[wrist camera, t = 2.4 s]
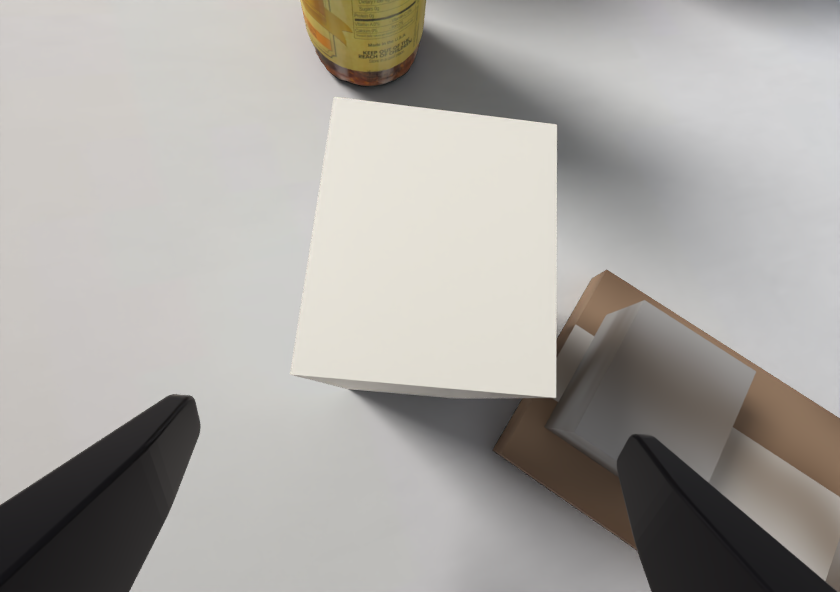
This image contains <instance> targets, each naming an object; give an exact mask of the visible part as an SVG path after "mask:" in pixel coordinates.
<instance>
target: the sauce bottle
mask: <svg viewBox="0 0 840 592" xmlns="http://www.w3.org/2000/svg"><path fill="white" fill-rule="evenodd" d="M300 1H301V6H302V10H303V15H304V19H305V23H306V29H307V32H308V34H309V37H310V39H311V41H312V43H313V45H314V47H315V49H316V53H317V55H318V56H319V58H320V60H321V62H322V63H323V64H324V66H325V67H326V69H327V70H328V71H329V72H330V73H331V74H332V75H334V76H336V77H337V78H339V79H341V80H345V81H349V82H350V83H354V84H357V85H360V86H376V85H381V84H386V83H388V82H390V81H394V80H396V79H397V78H399V77H400V76H402V75H404V74H405V73H406V72H408V70H409V68H410V66H411V65H412V63H413V62H414V60H415V57H416V54H417V51H418V47H419V42H420V39H421V37H422V33H423V26H424V16H425V6H426V0H300Z"/></svg>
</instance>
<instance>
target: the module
mask: <svg viewBox="0 0 840 592" xmlns="http://www.w3.org/2000/svg"><path fill="white" fill-rule="evenodd" d="M556 293H557V124H549V123H541V122H533V121H525V120H517V119H509V118H501V117H493V116H485V115H477V114H469V113H461V112H453V111H445V110H437V109H429V108H421V107H413V106H405V105H397V104H389V103H380V102H372V101H364V100H356V99H348V98H340V97H334V99H333V105H332V111H331V118H330V124H329V130H328V137H327V143H326V149H325V156H324V162H323V168H322V175H321V181H320V187H319V194H318V200H317V206H316V213H315V219H314V225H313V232H312V238H311V244H310V251H309V257H308V263H307V270H306V276H305V282H304V289H303V295H302V301H301V308H300V314H299V320H298V327H297V333H296V339H295V346H294V352H293V358H292V365H291V371H290V375H294V376H298V377H302V378H306V379H310V380H314V381H318V382H322V383H326V384H330V385H334V386H338V387H342V388H346V389H351V390H363V391H374V392H386V393H397V394H409V395H420V396H432V397H443V398H455V399H469V398H556Z"/></svg>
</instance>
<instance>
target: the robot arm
mask: <svg viewBox="0 0 840 592" xmlns="http://www.w3.org/2000/svg"><path fill="white" fill-rule="evenodd" d="M199 433H200V420H199V415H198V411H197V407H196V402H195V399H194V398H193V397H192V396H189V395H177V394H172V395H169V396H167V397H165V398H164V399H162V400H161V401H159V402H158V403H156V404H155V405H153V406H152V407H150V408H148V409H147V410H145V411H144V412H142V413H141V414H139V415H138V416H136V417H135V418H133V419H132V420H130V421H129V422H127V423H125V424H124V425H122V426H121V427H119V428H118V429H116V430H115V431H113V432H112V433H110V434H109V435H107V436H106V437H104V438H102V439H101V440H99V441H98V442H96V443H95V444H93V445H92V446H90V447H89V448H87V449H86V450H84V451H83V452H81V453H79V454H78V455H76V456H75V457H73V458H72V459H70V460H69V461H67V462H66V463H64V464H63V465H61V466H60V467H58V468H56V469H55V470H53V471H52V472H50V473H49V474H47V475H46V476H44V477H43V478H41V479H40V480H38V481H37V482H35V483H33V484H32V485H30V486H29V487H27V488H26V489H24V490H23V491H21V492H20V493H18V494H17V495H15V496H14V497H12V498H10V499H9V500H7V501H6V502H4V503H3V504H1V505H0V592H129V591H130V589H131V587H132V585H133V583H134V581H135V579H136V577H137V575H138V573H139V571H140V569H141V567H142V565H143V563H144V561H145V559H146V557H147V555H148V553H149V552H150V550H151V548H152V546H153V544H154V542H155V540H156V538H157V536H158V534H159V532H160V530H161V528H162V526H163V524H164V522H165V520H166V518H167V516H168V513H169V511H170V509H171V507H172V504H173V502H174V499H175V497H176V494H177V492H178V489H179V486H180V484H181V481H182V479H183V476H184V473H185V471H186V468H187V465H188V463H189V460H190V458H191V455H192V452H193V450H194V447H195V445H196V442H197V439H198V437H199ZM617 472H618V476H619V480H620V484H621V489H622V493H623V497H624V501H625V505H626V509H627V513H628V518H629V522H630V526H631V530H632V534H633V537H634V541H635V544H636V548H637V551H638V554H639V557H640V560H641V563H642V565H643V568H644V571H645V574H646V577H647V580H648V583H649V586H650V588H651V591H652V592H837V591H836V590H835V589H834V588H833V587H832V586H830V585H829V584H828V583H827V582H826V581H824V580H823V579H822V578H821V577H820V576H819V575H817V574H816V573H815V572H814V571H813V570H811V569H810V568H809V567H808V566H807V565H806V564H804V563H803V562H802V561H801V560H800V559H798V558H797V557H796V556H795V555H794V554H793V553H791V552H790V551H789V550H788V549H787V548H785V547H784V546H783V545H782V544H781V543H780V542H778V541H777V540H776V539H775V538H774V537H772V536H771V535H770V534H769V533H768V532H767V531H765V530H764V529H763V528H762V527H761V526H759V525H758V524H757V523H756V522H755V521H754V520H752V519H751V518H750V517H749V516H748V515H746V514H745V513H744V512H743V511H742V510H741V509H739V508H738V507H737V506H736V505H735V504H733V503H732V502H731V501H730V500H729V499H728V498H726V497H725V496H724V495H723V494H722V493H720V492H719V491H718V490H717V489H716V488H715V487H713V486H712V485H711V484H710V483H709V482H707V481H706V480H705V479H704V478H703V477H702V476H700V475H699V474H698V473H697V472H696V471H694V470H693V469H692V468H691V467H690V466H689V465H687V464H686V463H685V462H684V461H683V460H681V459H680V458H679V457H678V456H677V455H676V454H674V453H673V452H672V451H671V450H670V449H669V448H667V447H666V446H665V445H664V444H663V443H661V442H660V441H659V440H658V439H657V438H655V437H654V436H651V435H645V434H632V435H631V436H630V437H629V438H628V440H627V442H626V443H625V445H624V447H623V449H622V451H621V452H620V454H619V456H618V458H617Z"/></svg>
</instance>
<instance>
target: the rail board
mask: <svg viewBox="0 0 840 592" xmlns="http://www.w3.org/2000/svg"><path fill="white" fill-rule="evenodd" d="M632 434H645V435H651V436H654V437H655V438H657V439H658V440H659V441H660V442H661V443H663V444H664V445H665V446H666V447H667V448H669V449H670V450H671V451H672V452H673V453H674V454H676V455H677V456H678V457H679V458H680V459H681V460H683V461H684V462H685V463H686V464H687V465H689V466H690V467H691V468H692V469H693V470H694V471H696V472H697V473H698V474H699V475H700V476H702V477H703V478H704V479H705V480H706V481H707V482H709V483H710V484H711V485H712V486H713V487H715V488H716V489H717V490H718V491H719V492H720V493H722V494H723V495H724V496H725V497H726V498H728V499H729V500H730V501H731V502H732V503H733V504H735V505H736V506H737V507H738V508H739V509H741V510H742V511H743V512H744V513H745V514H746V515H748V516H749V517H750V518H751V519H752V520H754V521H755V522H756V523H757V524H758V525H759V526H761V527H762V528H763V529H764V530H765V531H767V532H768V533H769V534H770V535H771V536H772V537H774V538H775V539H776V540H777V541H778V542H780V543H781V544H782V545H783V546H784V547H785V548H787V549H788V550H789V551H790V552H791V553H793V554H794V555H795V556H796V557H797V558H798V559H800V560H801V561H802V562H803V563H804V564H806V565H807V566H808V567H809V568H810V569H811V570H813V571H814V572H815V573H816V574H817V575H819V576H820V577H821V578H822V579H823V580H824V581H826V582H827V583H828V584H829V585H830V586H832V587H833V588H834V589H835V590H836V591H837V592H840V418H838V417H837V416H835V415H834V414H832V413H830V412H829V411H827V410H826V409H824V408H823V407H821V406H819V405H818V404H816V403H815V402H813V401H812V400H810V399H809V398H807V397H805V396H804V395H802V394H801V393H799V392H798V391H796V390H794V389H793V388H791V387H790V386H788V385H787V384H785V383H783V382H782V381H780V380H779V379H777V378H776V377H774V376H773V375H771V374H769V373H768V372H766V371H765V370H763V369H762V368H760V367H758V366H757V365H755V364H754V363H752V362H751V361H749V360H747V359H746V358H744V357H743V356H741V355H740V354H738V353H737V352H735V351H733V350H732V349H730V348H729V347H727V346H726V345H724V344H722V343H721V342H719V341H718V340H716V339H715V338H713V337H711V336H710V335H708V334H707V333H705V332H704V331H702V330H701V329H699V328H697V327H696V326H694V325H693V324H691V323H690V322H688V321H686V320H685V319H683V318H682V317H680V316H679V315H677V314H675V313H674V312H672V311H671V310H669V309H668V308H666V307H665V306H663V305H661V304H660V303H658V302H657V301H655V300H654V299H652V298H650V297H649V296H647V295H646V294H644V293H643V292H641V291H639V290H638V289H636V288H635V287H633V286H632V285H630V284H629V283H627V282H625V281H624V280H622V279H621V278H619V277H618V276H616V275H614V274H613V273H611V272H610V271H608V270H605V271H604V272H602V273H600V274H599V275H597V276H595V277H594V278H592V279H591V281H590V283H589V285H588V286H587V288H586V290H585V291H584V293H583V295H582V297H581V298H580V300H579V302H578V304H577V305H576V307H575V309H574V310H573V312H572V314H571V316H570V317H569V319H568V321H567V323H566V324H565V326H564V328H563V329H562V331H561V333H560V335H559V336H558V338H557V340H556V398H523V399H522V400H521V402H520V404H519V406H518V407H517V409H516V411H515V412H514V414H513V416H512V418H511V419H510V421H509V423H508V425H507V426H506V428H505V430H504V431H503V433H502V435H501V437H500V438H499V440H498V442H497V444H496V445H495V447H494V449H493V451H494V452H496V453H497V454H498V455H500V456H501V457H503V458H504V459H506V460H507V461H509V462H510V463H511V464H513V465H514V466H516V467H517V468H519V469H520V470H522V471H523V472H524V473H526V474H527V475H529V476H530V477H532V478H533V479H535V480H536V481H537V482H539V483H540V484H542V485H543V486H545V487H546V488H548V489H549V490H550V491H552V492H553V493H555V494H556V495H558V496H559V497H561V498H562V499H563V500H565V501H566V502H568V503H569V504H571V505H572V506H574V507H575V508H576V509H578V510H579V511H581V512H582V513H584V514H585V515H587V516H588V517H589V518H591V519H592V520H594V521H595V522H597V523H598V524H600V525H601V526H603V527H604V528H605V529H607V530H608V531H610V532H611V533H613V534H614V535H616V536H617V537H618V538H620V539H621V540H623V541H624V542H626V543H627V544H629V545H630V546H631V547H633V548H634V549H636V550H637V548H636V544H635V541H634V537H633V534H632V530H631V526H630V522H629V518H628V513H627V509H626V505H625V501H624V497H623V493H622V489H621V484H620V480H619V476H618V472H617V458H618V456H619V454H620V452H621V451H622V449H623V447H624V445H625V443H626V442H627V440H628V438H629V437H630V436H631V435H632Z"/></svg>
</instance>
